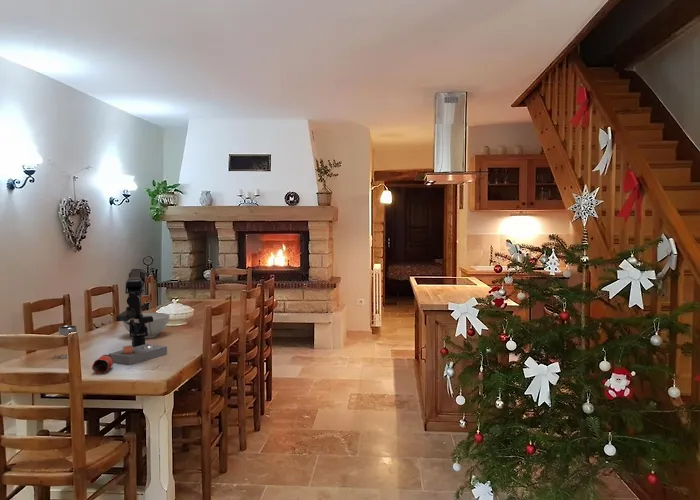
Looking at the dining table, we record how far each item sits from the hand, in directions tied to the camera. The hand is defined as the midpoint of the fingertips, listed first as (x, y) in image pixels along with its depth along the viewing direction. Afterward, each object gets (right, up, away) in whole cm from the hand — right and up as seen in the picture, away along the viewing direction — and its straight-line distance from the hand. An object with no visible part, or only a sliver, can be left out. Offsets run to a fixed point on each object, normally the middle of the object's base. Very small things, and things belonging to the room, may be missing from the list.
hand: (135, 336), depth 263 cm
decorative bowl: (-16, -9, +56) cm, 59 cm away
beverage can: (-6, -13, -21) cm, 25 cm away
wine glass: (-36, -11, +5) cm, 38 cm away
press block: (+1, -11, +3) cm, 12 cm away
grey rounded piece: (+3, -11, +9) cm, 14 cm away
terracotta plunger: (-2, -9, -3) cm, 9 cm away
